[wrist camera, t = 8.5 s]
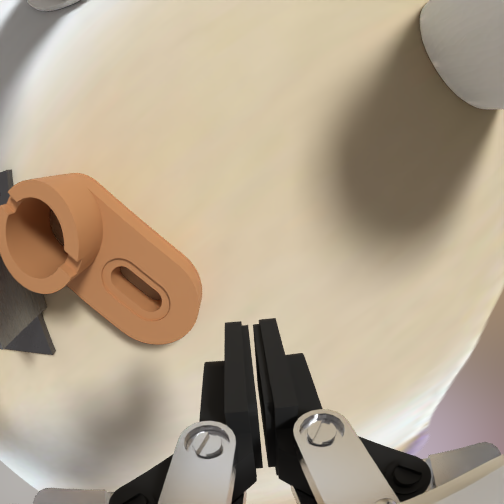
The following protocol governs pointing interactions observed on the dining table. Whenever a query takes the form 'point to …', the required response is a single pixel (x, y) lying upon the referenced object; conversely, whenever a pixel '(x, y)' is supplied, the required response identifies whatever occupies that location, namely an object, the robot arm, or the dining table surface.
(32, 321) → the pipe stub
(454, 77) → the utensil holder
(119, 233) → the bracket
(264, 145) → the dining table surface
